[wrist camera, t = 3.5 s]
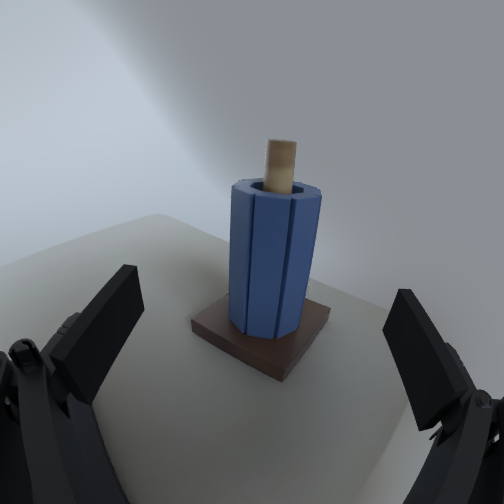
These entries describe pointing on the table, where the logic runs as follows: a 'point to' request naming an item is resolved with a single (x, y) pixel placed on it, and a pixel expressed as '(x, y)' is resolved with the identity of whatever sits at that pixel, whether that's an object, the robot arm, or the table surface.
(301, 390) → the table surface
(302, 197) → the sleeve
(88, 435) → the mat
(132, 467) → the table surface
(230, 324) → the dowel stand
